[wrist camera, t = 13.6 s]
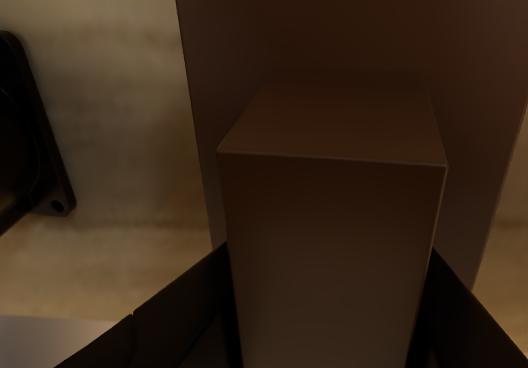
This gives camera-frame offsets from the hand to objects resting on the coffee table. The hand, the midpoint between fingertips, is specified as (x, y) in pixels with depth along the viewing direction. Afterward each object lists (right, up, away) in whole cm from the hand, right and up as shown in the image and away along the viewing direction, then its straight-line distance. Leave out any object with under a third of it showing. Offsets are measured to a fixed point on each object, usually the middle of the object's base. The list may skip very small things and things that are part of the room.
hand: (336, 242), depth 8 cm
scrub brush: (+1, +1, +2) cm, 3 cm away
